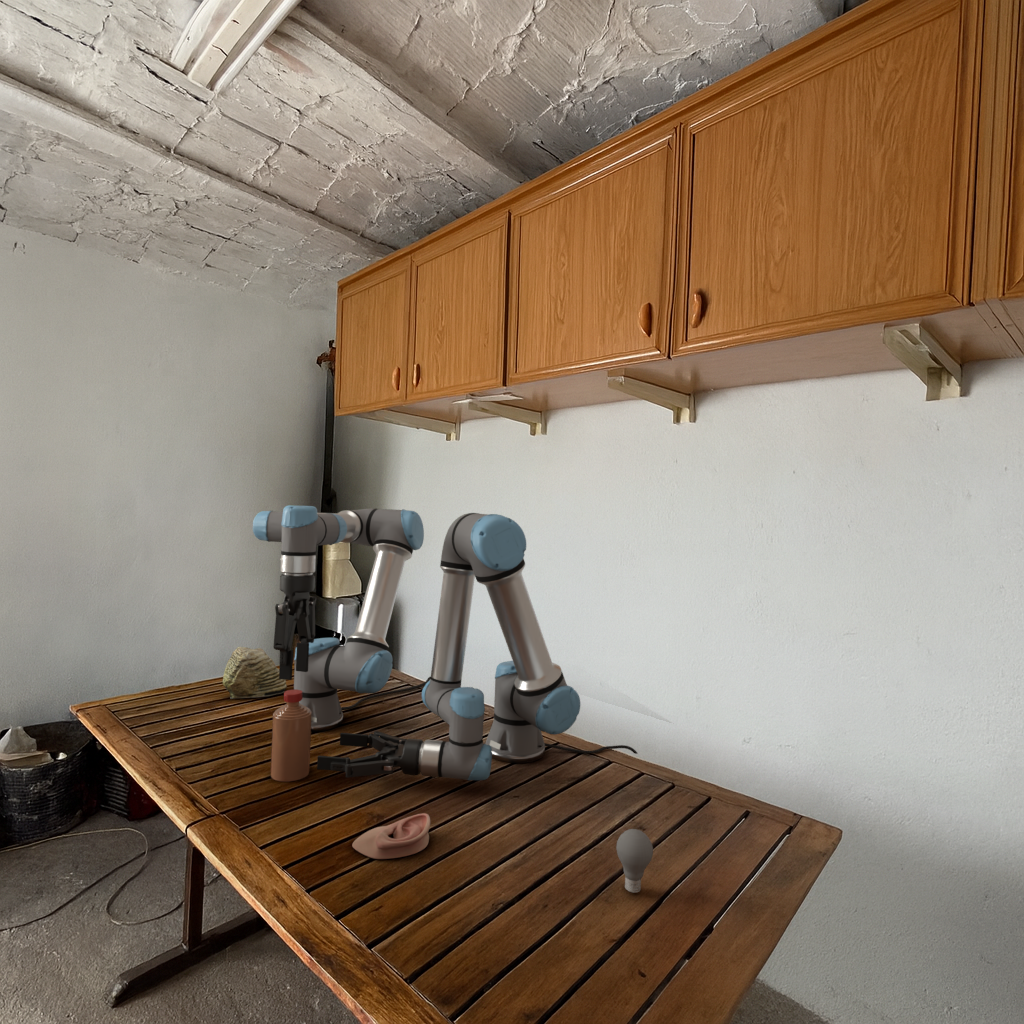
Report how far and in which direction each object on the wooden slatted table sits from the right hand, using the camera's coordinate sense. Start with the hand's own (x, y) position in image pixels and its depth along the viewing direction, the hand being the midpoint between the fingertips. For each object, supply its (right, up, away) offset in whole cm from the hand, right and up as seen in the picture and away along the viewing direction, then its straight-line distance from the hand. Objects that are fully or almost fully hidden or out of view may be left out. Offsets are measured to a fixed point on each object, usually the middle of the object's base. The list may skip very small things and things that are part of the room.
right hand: (329, 750), depth 143 cm
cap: (-9, +13, +1) cm, 15 cm away
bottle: (-9, -6, +1) cm, 11 cm away
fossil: (-39, -3, +55) cm, 68 cm away
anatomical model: (+19, -8, -26) cm, 33 cm away
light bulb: (+61, -10, -37) cm, 72 cm away
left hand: (-8, +17, +1) cm, 19 cm away
